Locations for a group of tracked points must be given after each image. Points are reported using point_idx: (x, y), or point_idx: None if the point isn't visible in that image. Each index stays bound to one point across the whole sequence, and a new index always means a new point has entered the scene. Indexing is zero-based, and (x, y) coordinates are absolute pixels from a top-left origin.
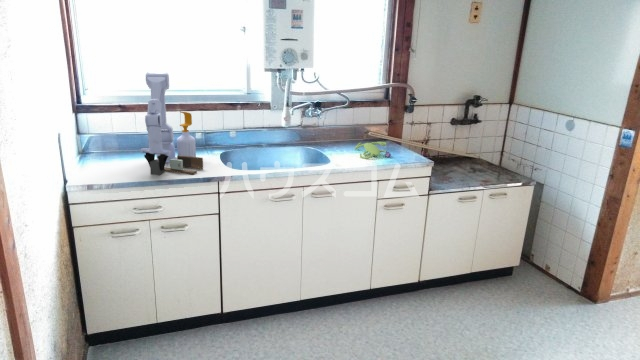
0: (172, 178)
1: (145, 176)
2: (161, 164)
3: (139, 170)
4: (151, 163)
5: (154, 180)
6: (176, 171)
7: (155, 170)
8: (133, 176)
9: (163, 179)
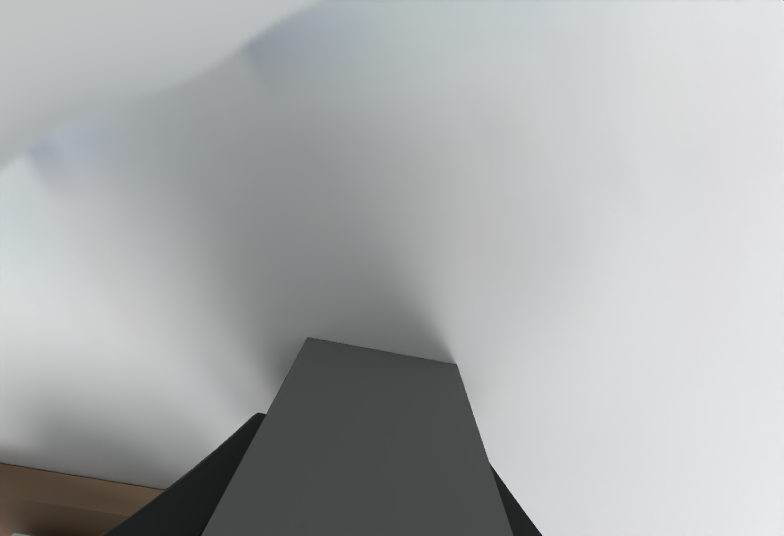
0: (21, 214)
1: (498, 249)
2: (152, 502)
3: (680, 505)
4: (458, 527)
5: (253, 44)
6: (110, 499)
7: (362, 391)
8: (696, 217)
9: (132, 133)
